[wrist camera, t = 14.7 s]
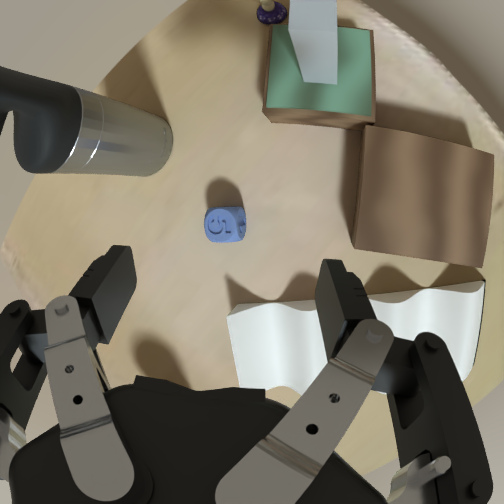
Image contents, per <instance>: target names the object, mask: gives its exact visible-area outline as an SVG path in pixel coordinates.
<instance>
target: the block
mask: <svg viewBox="0 0 504 504" xmlns="http://www.w3.org/2000/svg"><path fill="white" fill-rule="evenodd" d="M288 30H289V33H290V36H291V40H292V43H293V46H294V49H295V53H296V56H297V59H298V63H299V66H300V70H301V73H302V77H303V80H304V82H312V83H325V84H336V85H337V65H338V37H337V1H336V0H290V11H289V27H288Z"/></svg>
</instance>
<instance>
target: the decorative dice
mask: <svg viewBox="0 0 504 504" xmlns="http://www.w3.org/2000/svg"><path fill="white" fill-rule="evenodd" d="M204 228H205V233H206V236H207V237H208V239H209V240H210V241H212V242H236V241H241V240H242V239H243V238H244V236H245V232H246V216H245V212H244V209H243V208H242V207H213V208H209V209H208V210H207V212H206V214H205V219H204Z"/></svg>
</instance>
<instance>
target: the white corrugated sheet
mask: <svg viewBox="0 0 504 504" xmlns="http://www.w3.org/2000/svg"><path fill="white" fill-rule="evenodd" d="M485 282H486V280H481V281H475V282H468V283H462V284H455V285H448V286H441V287H433V288H426V289H418V290H410V291H401V292H392V293H383V294H373V295H367V297H368V298H369V300H370V303H371V305H372V308H373V310H374V312H375V315H376V317H377V320H379V321H382V322H383V323H385V324H386V325H388V326H389V327H390V328H391V330H392V332H393V334H394V336H395V337H398V338H403V339H407V340H412V341H414V339H415V338H416V336H417V335H418V334H419V333H421V332H431V333H434V334H436V335H438V336H439V337H440V338H442V339H443V341H444V342H445V343H446V345H447V348H448V350H449V352H450V354H451V357H452V359H453V361H454V363H455V366H456V368H457V371H458V373H459V375H460V378H461V380H462V381H463V380H465V379H466V377H467V376H468V374H469V373H470V371H471V369H472V367H473V365H474V362H475V357H476V352H477V347H478V341H479V335H480V329H481V322H482V314H483V305H484V295H485ZM227 323H228V328H229V334H230V339H231V344H232V350H233V355H234V360H235V365H236V370H237V375H238V380H239V385H240V388H256V389H265V391H266V390H268V389H271V388H274V387H277V386H287V387H290V388H292V389H293V390H295V391H296V392H298V393H299V394H300V395H303V394H304V392H305V391H306V390H307V389H308V387H309V386H310V385H311V384H312V382H313V381H314V380H315V378H316V377H317V376H318V375H319V373H320V372H321V371H322V369H323V368H324V367H325V365H326V364H327V363H328V362H327V357H326V352H325V347H324V342H323V337H322V332H321V327H320V322H319V318H318V313H317V309H316V304H315V300H303V301H287V302H270V303H250V304H237V305H236V307H235V308H234V309H233V310H232V311H231V312H230V313H229V314H228V316H227ZM377 392H379V391H377ZM379 393H382V394H386V393H384V392H379Z"/></svg>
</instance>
